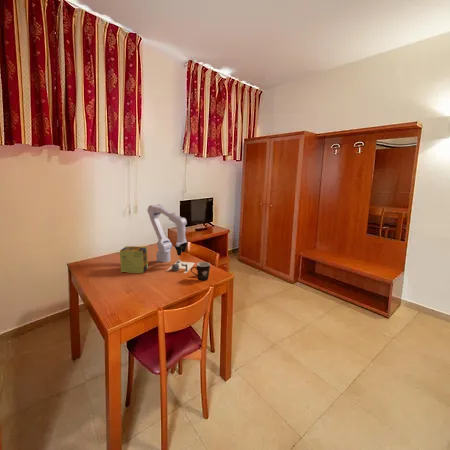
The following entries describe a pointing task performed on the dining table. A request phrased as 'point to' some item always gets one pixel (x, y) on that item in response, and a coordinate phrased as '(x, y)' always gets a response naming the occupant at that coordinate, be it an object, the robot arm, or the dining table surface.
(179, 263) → the shelf board
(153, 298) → the dining table surface
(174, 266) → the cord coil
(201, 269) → the coffee mug
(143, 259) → the protein box
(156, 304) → the dining table surface
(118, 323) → the dining table surface
